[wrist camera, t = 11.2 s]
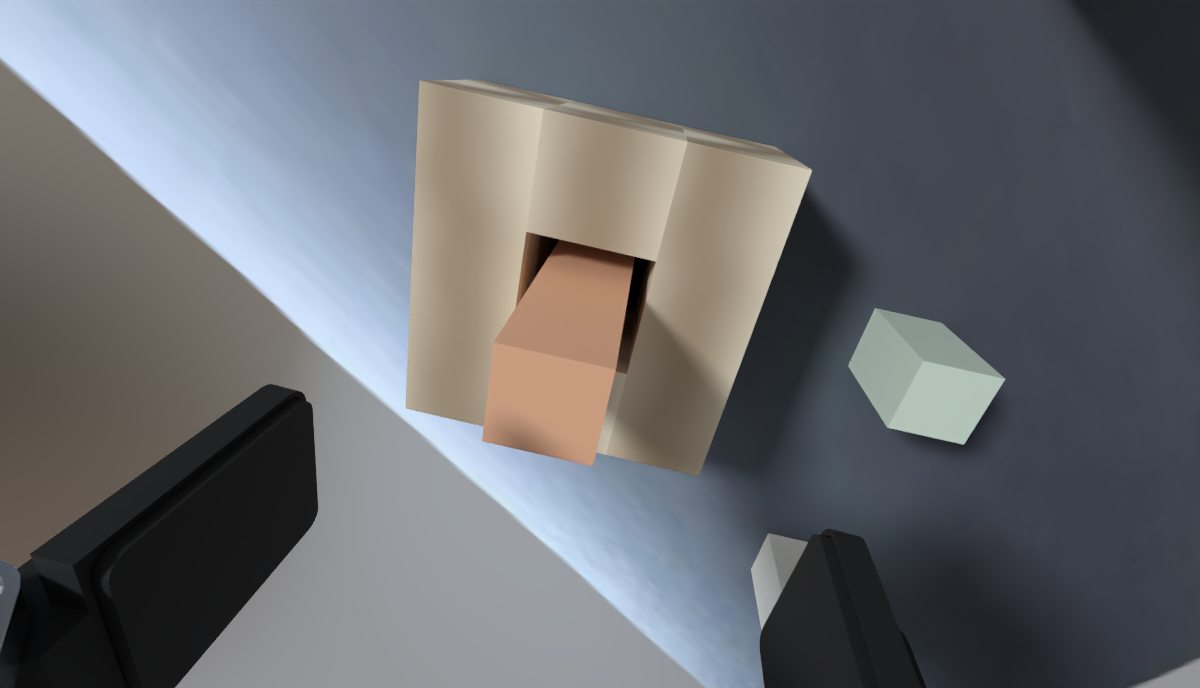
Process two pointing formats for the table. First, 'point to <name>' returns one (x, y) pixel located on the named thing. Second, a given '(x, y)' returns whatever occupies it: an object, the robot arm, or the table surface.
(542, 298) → the tan bar
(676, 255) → the hole block
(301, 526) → the robot arm
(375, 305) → the table surface
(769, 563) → the medium pin
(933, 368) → the short pin
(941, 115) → the table surface
